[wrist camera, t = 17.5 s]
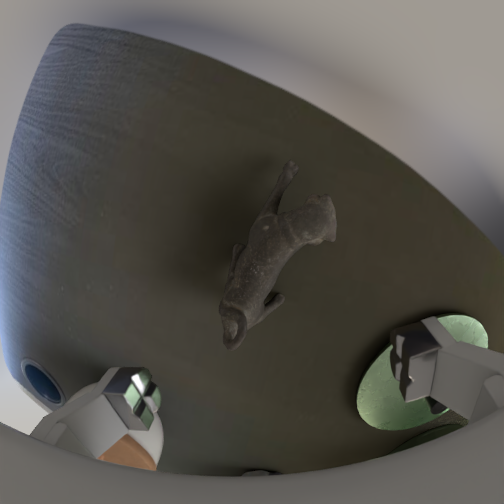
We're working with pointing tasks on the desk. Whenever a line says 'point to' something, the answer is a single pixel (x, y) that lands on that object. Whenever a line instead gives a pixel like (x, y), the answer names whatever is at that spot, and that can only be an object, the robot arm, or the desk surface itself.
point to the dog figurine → (270, 256)
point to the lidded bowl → (133, 442)
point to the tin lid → (387, 388)
